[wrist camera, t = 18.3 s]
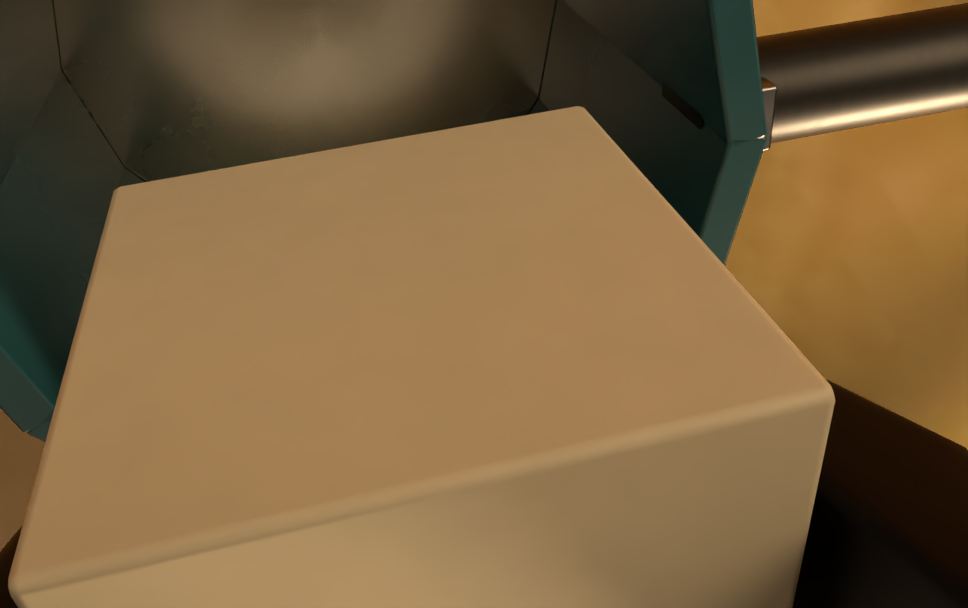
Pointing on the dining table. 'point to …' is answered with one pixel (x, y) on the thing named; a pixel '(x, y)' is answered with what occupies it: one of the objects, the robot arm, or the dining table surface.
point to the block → (422, 392)
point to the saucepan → (401, 108)
